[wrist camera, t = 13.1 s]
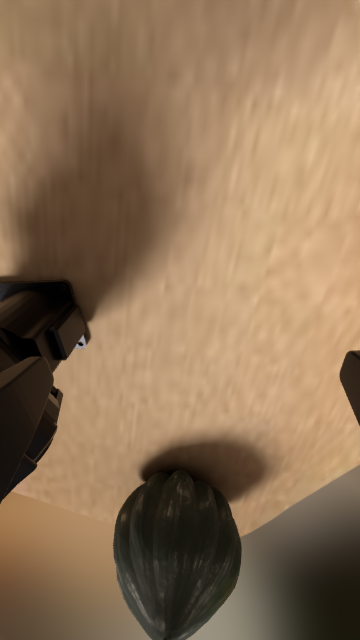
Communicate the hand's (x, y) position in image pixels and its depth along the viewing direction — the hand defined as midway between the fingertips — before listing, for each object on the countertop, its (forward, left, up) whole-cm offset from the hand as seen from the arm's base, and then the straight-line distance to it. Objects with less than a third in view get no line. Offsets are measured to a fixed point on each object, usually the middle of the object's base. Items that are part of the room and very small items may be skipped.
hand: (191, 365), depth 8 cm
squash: (-3, -33, -13) cm, 36 cm away
